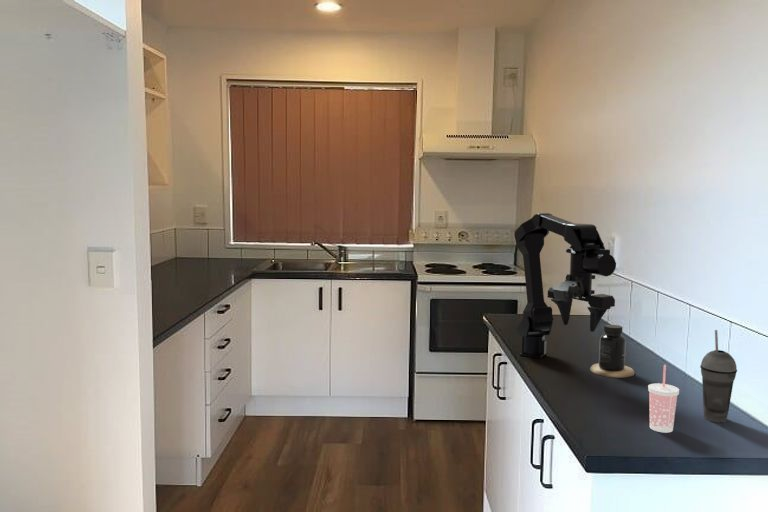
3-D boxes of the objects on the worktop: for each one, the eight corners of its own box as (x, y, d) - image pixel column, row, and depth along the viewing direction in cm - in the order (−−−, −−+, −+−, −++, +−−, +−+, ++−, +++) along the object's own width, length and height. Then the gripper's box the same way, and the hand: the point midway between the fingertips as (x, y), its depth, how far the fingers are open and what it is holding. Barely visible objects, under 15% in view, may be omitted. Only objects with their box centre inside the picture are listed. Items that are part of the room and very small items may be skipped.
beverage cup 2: (719, 427, 137) (726, 336, 134) (689, 416, 143) (695, 329, 141) (740, 421, 140) (747, 332, 138) (710, 410, 146) (716, 326, 144)
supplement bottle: (628, 371, 173) (630, 328, 172) (604, 372, 173) (606, 329, 172) (618, 364, 180) (620, 323, 179) (594, 365, 180) (596, 323, 178)
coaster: (586, 373, 174) (586, 370, 174) (594, 363, 184) (594, 360, 184) (631, 380, 169) (631, 377, 169) (637, 369, 179) (637, 366, 179)
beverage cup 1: (666, 422, 139) (670, 360, 137) (682, 433, 133) (687, 368, 131) (640, 423, 138) (643, 361, 137) (655, 434, 132) (659, 369, 131)
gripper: (533, 269, 174) (532, 324, 175) (588, 277, 158) (585, 339, 160) (562, 266, 179) (560, 320, 181) (617, 274, 164) (614, 333, 165)
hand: (578, 328), depth 172 cm, fingers open, 9 cm apart
